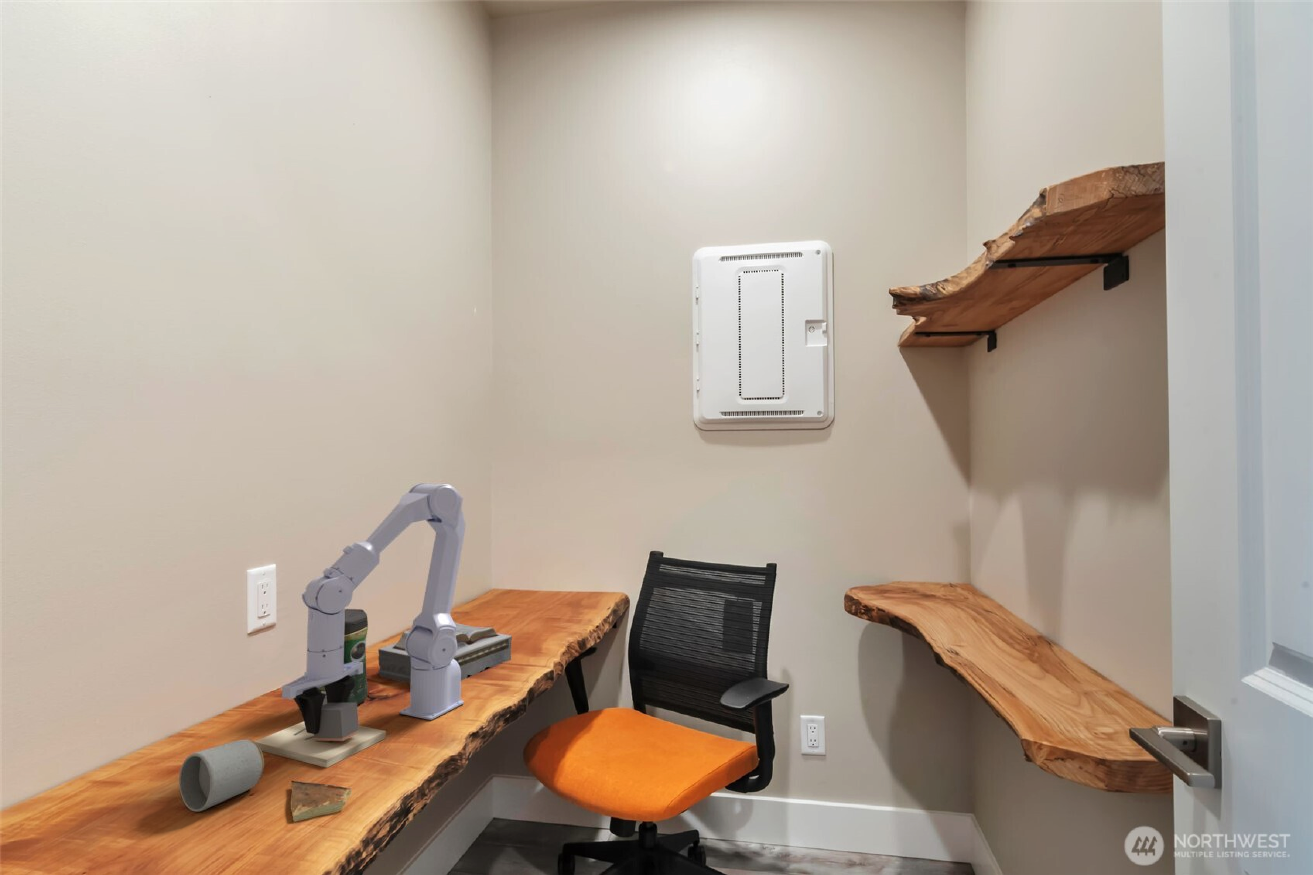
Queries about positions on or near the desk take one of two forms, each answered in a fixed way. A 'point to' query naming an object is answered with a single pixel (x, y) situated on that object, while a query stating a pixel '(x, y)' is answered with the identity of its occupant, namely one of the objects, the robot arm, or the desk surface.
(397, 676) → the bible
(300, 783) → the shard
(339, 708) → the block
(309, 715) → the robot arm
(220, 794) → the ceramic mug
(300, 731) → the cream flat board
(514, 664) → the desk surface
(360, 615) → the coffee jar
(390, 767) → the desk surface
